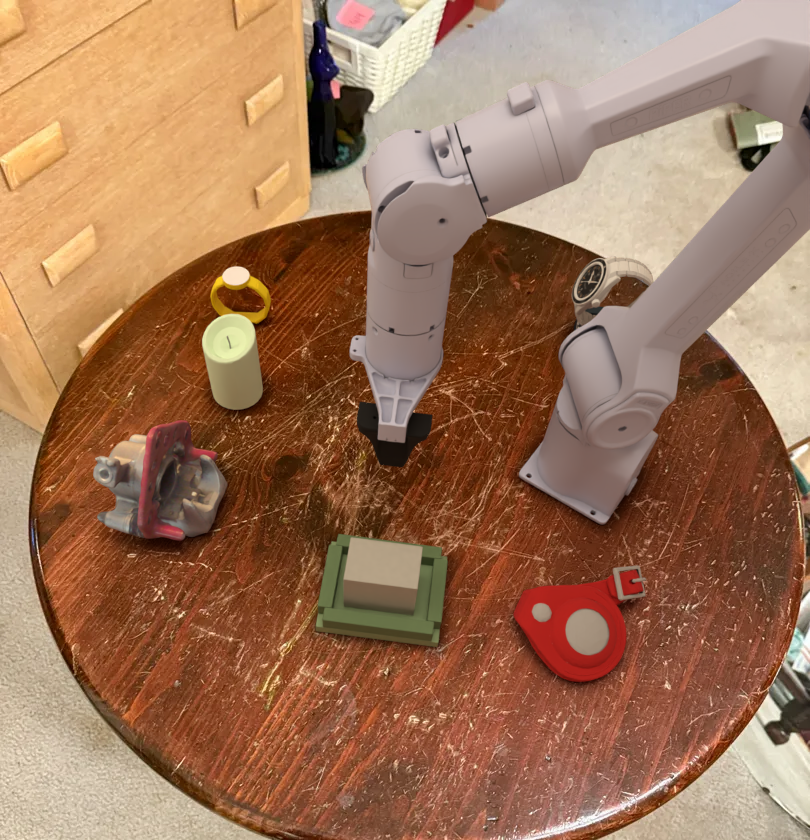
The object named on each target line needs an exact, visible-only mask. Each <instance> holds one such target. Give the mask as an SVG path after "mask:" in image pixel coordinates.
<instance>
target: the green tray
mask: <svg viewBox="0 0 810 840" xmlns="http://www.w3.org/2000/svg"><path fill="white" fill-rule="evenodd" d="M351 537H353V538H360V539H368V540H376V541H383V542H391V543H398V544H406V545H413V546H421V547H423V550H422V558H421V566H420V575H419V583H418V590H417V596H416V603H415V609H414V615H405V614H397V613H390V612H382V611H375V610H367V609H360V608H352V607H345V606H344V587H343V579H344V573H345V567H346V562H347V556H348V550H349V545H350V539H351ZM442 552H443V547H442V546H436V545H435V546H434V545H427V544H419V543H412V542H405V541H398V540H397V541H396V540H389V539H383V538H375V537H374V538H373V537H366V536H360V535H359V536H358V535H351V534H344V533H338V534H337V538H336V541H332V540H331V543H330V544H328V548H327V554H326V559H325V565H324V569H323V573H322V574H323V575H322V580H321V585H320V591H319V596H318V602H317V617H316V622H315V632H319V633H327V634H335V635H342V636H349V637H357V638H365V639H373V640H381V641H387V642H388V641H389V642H395V643H403V644H411V645H419V646H426V647H432V648H433V647H434V648H438V647H439V642H440V631H441V625H442V620H443V612H444V601H445V593H446V592H445V591H446V582H447V572H448V563H449V561H448V556H446V555H442V554H443V553H442Z"/></svg>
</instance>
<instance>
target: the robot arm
mask: <svg viewBox="0 0 810 840" xmlns="http://www.w3.org/2000/svg"><path fill="white" fill-rule="evenodd" d="M506 96H507V97H505V98H502V99H500V100H499V101H496V102H494V103H492V104H490V105H487V106H485V107H483V108H481V109H479V110H476V111H474V112H471V113H470V114H467V115H466V116H463V117H462V118H459V119H457V120H455V122H454V121H453V122H450V123H449V124H447V125H446V124H444V123H442V124H440V125H437V126H435V127H433V128H431V129H430V130H427V129H422V128H420V129H419V128H405V129H401V130H398V131H395V132H393V133H391V134H389V135H388V136H387V137H385V138H384V139H383V140H382V141H380V142H379V143H378V144H377V145H376V149H375V151H371V153H370V155H369V157H368V159H367V163H365V164H363V165H362V167H361V173H362V179H363V184H364V186H365V188H366V191H367V193H368V199H369V200H368V201H369V205H370V209H371V225H370V227H371V228H370V231H369V247H368V251H367V271H366V272H367V274H366V276H367V277H366V279H367V280H366V315H365V316H366V317H365V319H366V320H365V335H354V336H352V338H351V341H350V346H349V358H350V359H351V360H352V361H354V362H360V363H362V364H363V365H364V368H365V372H366V376H367V378H368V382H369V385H370V389H371V392H372V395H373V399H374V402H368V401H359V403H358V408H357V415H356V426H357V429H358V432H359V433H360V434H362V435H363V436H364V437H366V439H367V440H369V441H370V444H371V445H372V448H373V451H374V453H375V457H376V459H377V462H378V464H379V465H380V466H386V467H395V468H403V467H405V466H406V464H407V462H408V460H409V458H410V457H411V454H412V453H413V450H414V449H415V447H416V446H418V445H419V444H420V443H422V442H424V441H427V439H428V438H429V436H430V434H431V431H432V424H433V414H430V413H422V412H416V411H415V410H416V408H417V407H418V405H419V404H420V402H421V400H422V399H423V397H424V396H425V394H426V392H427V391H428V389H429V387H431V385H432V383H433V381H435V379H436V377H437V375H438V373H439V372H440V370H441V368H442V365H443V360H444V349H443V340H444V332H445V327H446V326H445V325H446V319H447V312H448V303H449V298H450V297H449V296H450V290H451V282H452V276H453V267H454V255H455V254H457V253H458V252H459V251H460V250H461V249H462V248H463V247H464V246H465V244H466V243H467V242H468V239H469V238H470V237H471V236H472V235H473V234H474V233H475V232H476V231H479V230H481V229H483V225H486V223H487V222H488V218H491V217H494V216H495V215H498V214H500V213H503V212H505V211H507V210H510V209H513V208H514V207H517V206H519V205H522V204H524V203H526V202H529V201H531V200H533V199H536V198H538V197H541V196H543V195H545V194H547V193H548V194H549V193H550V192H552V191H554V190H557V189H559V188H561V187H564V186H566V185H569V184H571V183H573V182H576V181H577V180H578V179H579V178H580V176H581V175H582V173H583V171H584V169H585V167H586V166H587V164H588V162H589V160H590V158H591V156H592V155H593V154H594V152H595V151H597V150H599V149H602V148H604V147H607V146H610V145H613V144H616V143H619V142H622V141H625V140H627V139H630V138H634V137H636V136H639V135H642V134H644V133H648V132H651V131H653V130H656V129H659V128H661V127H664V126H668V125H671V124H674V123H677V122H679V121H682V120H685V119H687V118H690V117H694V116H696V115H700V114H702V113H705V112H707V111H711V110H714V109H716V108H719V107H722V106H726V105H727V104H731V103H736V104H739V105H741V106H743V107H745V108H748V109H750V110H751V111H754V112H756V113H757V114H760V115H763V116H764V117H766V118H769V119H771V120H773V121H775V122H778V123H780V124H781V125H782V136H781V139H780V141H778V142H777V143H776V145H775V146H774V147H773V148H772V149H771V150H770V152H768V153H767V154H766V156H765V157H764V158H763V159H762V160H761V162H760V163H759V164H758V165H757V166H756V167H755V168H754V169H753V171H751V172H750V174H749V175H748V176H747V177H746V178H745V179H744V181H742V183H740V185H738V187H737V188H736V189H735V190H734V191H733V193H732V194H731V195H730V196H729V197H728V198H727V199H726V201H724V203H723V204H722V205H721V206H720V207H719V209H717V210H716V212H715V213H714V214H713V215H712V216H711V217H710V219H708V221H706V223H705V224H704V225H703V226H702V227H701V228H700V229H699V230H698V232H696V234H695V235H694V236H693V237H692V238H691V240H689V242H688V243H686V245H685V246H684V247H683V248H682V249H681V250H680V252H679V253H678V254H677V255H676V256H675V257H674V258H673V260H672V261H671V262H670V263H669V264H668V265H667V266H666V267H665V268H664V270H663V271H661V273H660V274H659V275H658V276H657V277H656V278H655V280H653V283H652V284H651V285H650V286H647V287H648V289H647V290H646V289H645V290H646V291H645V290H644V291H645V292H644V293H643V294H642V295H641V296H640V295H639V296H640V298H639V299H638V300H637V301H636V302H635V303H634V304H633V305H632V306H631V308H629V307H627V306H621V305H605V306H603V307H604V308H603V309H602V310H601V311H600V312H599V313H598V315H597V316H596V317H595V318H593V319H592V320H591V321H590V322H588V323H587V324H585V325H583V326H581V327H580V328H578V329H576V330H575V331H574V330H573V331H572V332H571V333H570V334H569V335H567V336H566V338H565V339H564V340H563V341H562V342H561V345H560V347H559V349H558V361H559V363H560V365H561V367H562V369H563V370H564V377H563V380H562V387H561V389H560V391H559V393H558V395H557V399H556V402H555V405H554V408H553V411H552V413H551V417H550V419H549V423H548V425H547V429H546V432H545V434H544V437H543V440H542V441H541V443H540V444H539V445H538V447H537V448H536V449H535V450H534V452H533V453H532V454H531V456H530V457H529V458H528V459H527V461H526V462H525V463H524V464H523V466H522V467H521V469H520V470H519V472H518V477H519V478H520V479H521V480H523V481H525V482H526V483H527V484H529V485H532V486H533V487H535V488H536V489H538V490H540V491H542V492H543V493H545V494H547V495H548V496H551V497H552V498H553V499H556V500H558V501H559V502H561V503H563V504H564V505H566V506H568V507H569V508H571V509H573V510H574V511H576V512H578V513H579V514H581V515H583V516H585V517H587V518H588V519H590V520H592V521H594V522H595V523H597V524H599V525H606V524H607V522H608V521H609V519H610V518H611V516H612V515H613V513H615V511H616V509H617V508H618V506H619V504H620V503H621V502H622V500H623V498H624V497H625V496H626V497H628V496H629V495H630V494H631V492H632V490H633V489H634V488H635V486H636V484H637V482H638V478H637V477H638V476H639V475H640V473H641V470H642V468H643V467H644V464H645V462H646V461H647V459H648V457H649V455H650V453H651V452H652V450H653V448H654V446H655V444H656V442H657V439H658V437H659V434H658V433H657V432H656V431H654V429H655V428H656V426H657V424H658V423H659V420H660V418H661V416H662V414H663V413H664V411H665V410H666V409H667V407H668V406H670V405H671V404H672V403H673V402H674V401H675V400H676V396H677V392H678V386H679V385H678V383H679V376H680V368H681V359H682V355H683V354H684V353H685V352H686V351H688V349H689V348H690V347H691V346H692V345H693V344H694V343H695V342H696V341H697V340H698V339H699V338H700V337H702V335H703V334H704V333H706V331H707V330H708V329H710V327H712V326H713V325H714V324H715V323H716V321H717V320H719V318H721V317H722V316H723V315H724V314H725V313H726V312H727V311H728V310H729V309H730V308H731V307H732V306H733V305H734V304H735V303H736V302H737V301H738V300H739V299H740V298H741V297H742V296H743V295H744V294H746V292H747V291H748V290H749V289H750V288H751V287H753V286H754V285H755V283H757V281H759V280H760V279H761V278H762V277H763V276H764V275H765V274H766V273H767V272H768V271H769V270H770V269H771V268H772V267H773V266H774V265H775V264H776V263H777V262H778V261H779V260H780V259H781V258H782V257H784V255H785V254H786V253H787V252H788V251H789V250H790V249H792V247H793V246H795V244H797V242H799V241H800V240H801V239H802V238H803V237H804V236H805V235H806V234H807V233H808V232H809V231H810V0H739V1H737V2H736V3H735V4H733V5H731V6H729V7H728V8H726V9H724V10H722V11H720V12H719V13H716V14H714V15H713V16H711V17H708V19H705V20H703V21H702V22H700V23H698V24H696V25H694V26H693V27H690V28H689V29H687V30H685V31H683V32H681V33H679V34H678V35H675V36H674V37H672V38H669V39H668V40H666V41H664V42H662V43H661V44H659V45H657V46H655V47H653V48H652V49H649V50H648V51H645V52H644V53H642V54H640V55H639V56H636V57H635V58H632V59H631V60H629V61H627V62H625V63H623V64H622V65H620V66H618V67H616V68H614V69H612V70H609V72H607V73H605V74H603V75H601V76H599V77H598V78H596V79H594V80H592V81H590V82H588V83H586V84H584V85H583V86H580V87H578V88H577V87H575V88H574V87H571V86H568V85H566V84H563V83H560V82H558V81H554V80H552V79H544V80H542V81H539V82H537V83H536V84H534V85H531V86H530V83H529V82H528V81H523V82H521V83H520V84H517V85H515V86H513V87H511V88H509V89H507V90H506Z"/></svg>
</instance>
